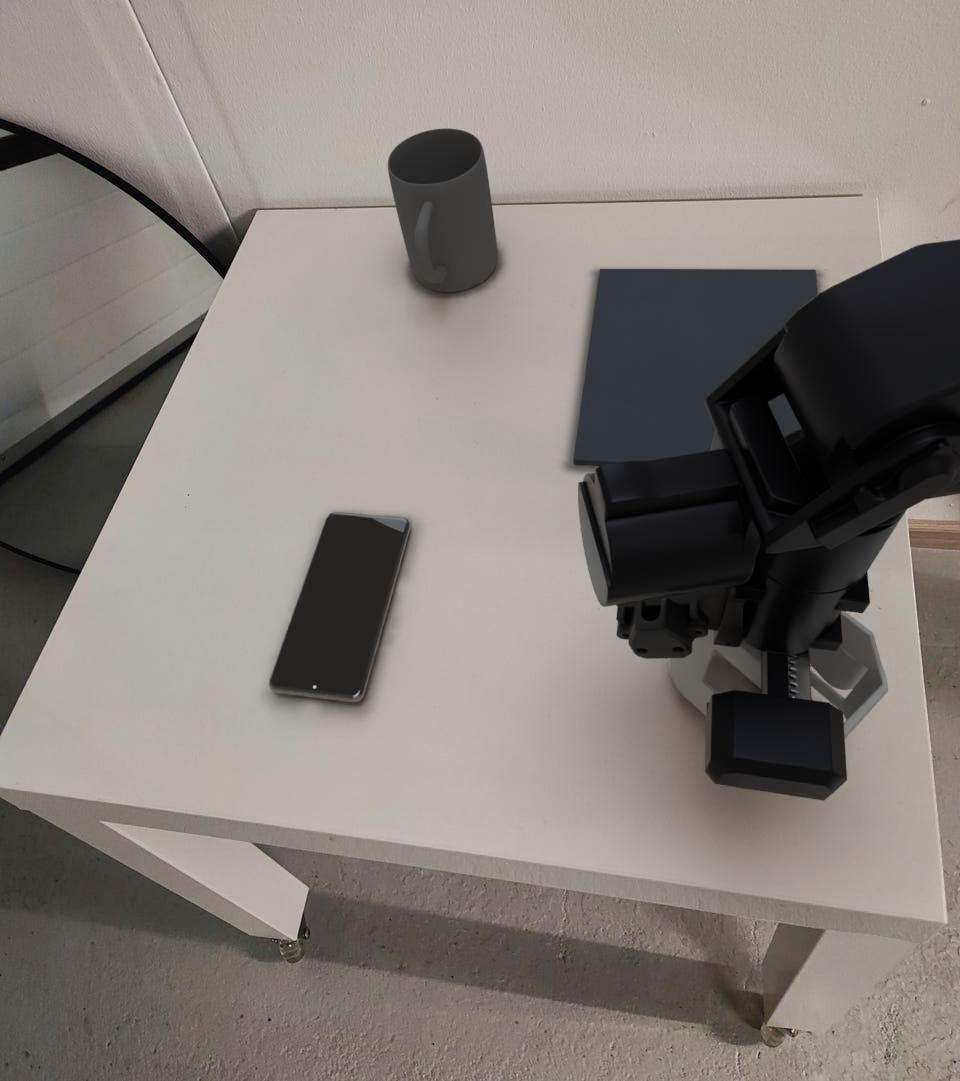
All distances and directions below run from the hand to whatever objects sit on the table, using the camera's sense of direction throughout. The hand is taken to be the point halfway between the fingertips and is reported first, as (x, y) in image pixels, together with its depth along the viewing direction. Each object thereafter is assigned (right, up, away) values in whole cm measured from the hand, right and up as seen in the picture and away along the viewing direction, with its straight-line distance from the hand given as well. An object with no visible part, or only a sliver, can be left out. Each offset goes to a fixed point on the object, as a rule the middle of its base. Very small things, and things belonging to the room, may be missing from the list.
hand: (740, 675), depth 50 cm
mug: (-19, +35, +32) cm, 51 cm away
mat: (+3, +24, +21) cm, 32 cm away
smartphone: (-27, +3, +13) cm, 30 cm away
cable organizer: (+2, -3, +4) cm, 5 cm away
